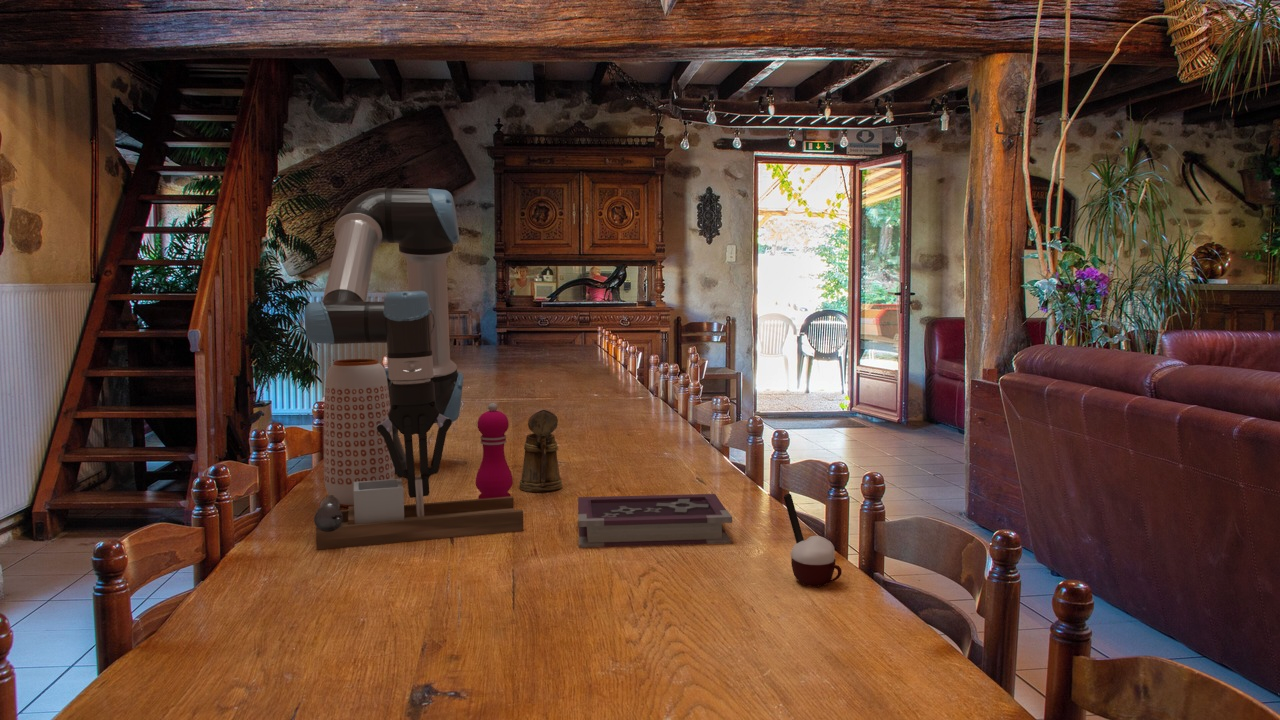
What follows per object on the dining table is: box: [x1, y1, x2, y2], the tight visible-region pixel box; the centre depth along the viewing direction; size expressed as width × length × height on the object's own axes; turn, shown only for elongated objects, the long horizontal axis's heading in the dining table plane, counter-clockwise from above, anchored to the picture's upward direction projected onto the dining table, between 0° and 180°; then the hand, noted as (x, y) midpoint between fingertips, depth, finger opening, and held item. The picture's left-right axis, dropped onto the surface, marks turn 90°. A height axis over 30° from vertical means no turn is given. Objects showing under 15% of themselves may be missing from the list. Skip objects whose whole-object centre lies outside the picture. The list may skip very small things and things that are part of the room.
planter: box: [323, 358, 396, 508], centre depth 171 cm, size 13×13×28 cm
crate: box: [354, 478, 405, 524], centre depth 149 cm, size 7×8×7 cm
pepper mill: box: [475, 402, 514, 499], centre depth 169 cm, size 7×7×20 cm
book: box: [577, 493, 733, 549], centre depth 151 cm, size 25×16×5 cm, turn 95°
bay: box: [315, 495, 524, 551], centre depth 152 cm, size 11×34×4 cm, turn 108°
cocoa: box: [783, 493, 843, 588], centre depth 125 cm, size 10×6×12 cm, turn 22°
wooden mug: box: [519, 409, 563, 493], centre depth 180 cm, size 9×14×18 cm, turn 11°
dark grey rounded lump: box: [313, 494, 343, 532], centre depth 145 cm, size 12×4×6 cm, turn 18°
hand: (420, 514), depth 152 cm, fingers closed
